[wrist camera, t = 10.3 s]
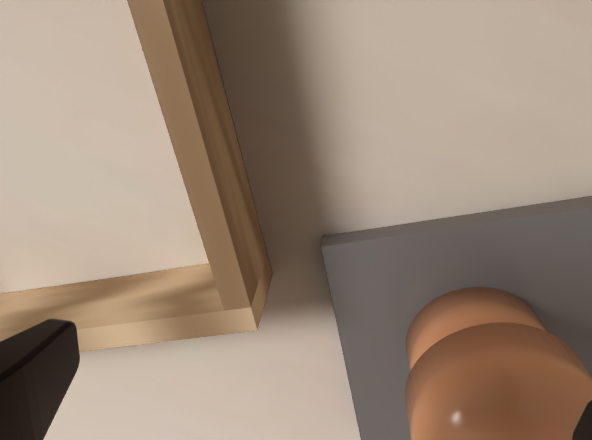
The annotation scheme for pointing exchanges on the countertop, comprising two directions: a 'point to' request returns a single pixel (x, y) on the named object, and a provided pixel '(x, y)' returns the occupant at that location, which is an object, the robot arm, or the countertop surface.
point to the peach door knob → (490, 371)
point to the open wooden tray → (204, 200)
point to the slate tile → (452, 289)
